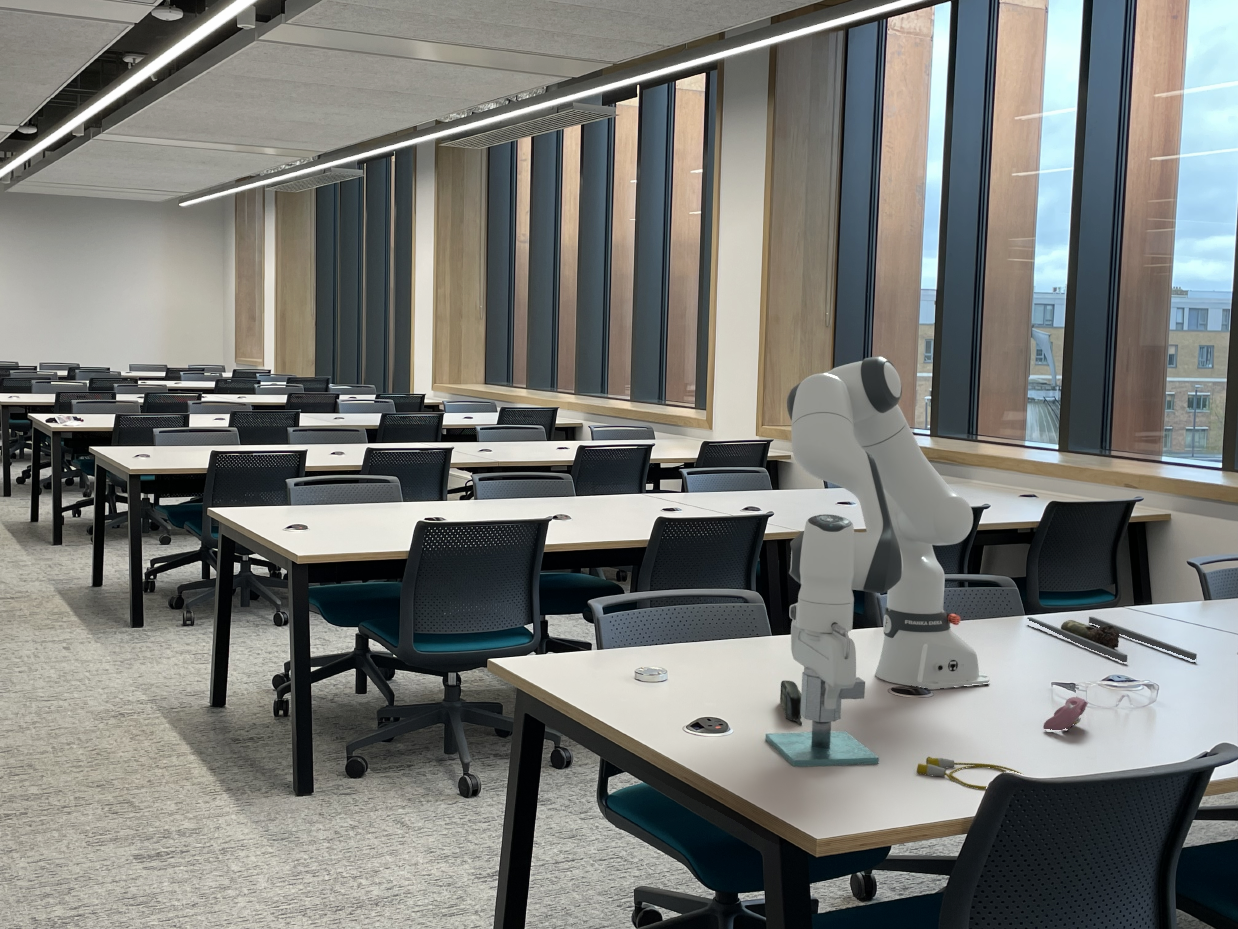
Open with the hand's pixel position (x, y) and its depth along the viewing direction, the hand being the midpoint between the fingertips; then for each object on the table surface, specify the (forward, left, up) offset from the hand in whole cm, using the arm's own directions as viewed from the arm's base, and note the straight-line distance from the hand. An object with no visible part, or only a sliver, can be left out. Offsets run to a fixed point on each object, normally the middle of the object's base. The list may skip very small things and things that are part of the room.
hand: (820, 701), depth 200 cm
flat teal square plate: (0, 0, -8) cm, 8 cm away
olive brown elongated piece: (-94, -70, -9) cm, 117 cm away
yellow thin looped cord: (-20, +14, -9) cm, 26 cm away
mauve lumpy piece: (-49, -8, -9) cm, 50 cm away
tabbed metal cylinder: (-2, 0, -3) cm, 3 cm away
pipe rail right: (-107, -72, -8) cm, 129 cm away
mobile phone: (-3, -21, -9) cm, 23 cm away
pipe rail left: (-90, -72, -8) cm, 115 cm away
